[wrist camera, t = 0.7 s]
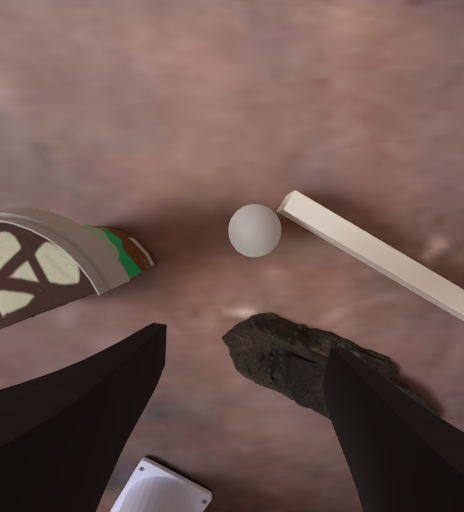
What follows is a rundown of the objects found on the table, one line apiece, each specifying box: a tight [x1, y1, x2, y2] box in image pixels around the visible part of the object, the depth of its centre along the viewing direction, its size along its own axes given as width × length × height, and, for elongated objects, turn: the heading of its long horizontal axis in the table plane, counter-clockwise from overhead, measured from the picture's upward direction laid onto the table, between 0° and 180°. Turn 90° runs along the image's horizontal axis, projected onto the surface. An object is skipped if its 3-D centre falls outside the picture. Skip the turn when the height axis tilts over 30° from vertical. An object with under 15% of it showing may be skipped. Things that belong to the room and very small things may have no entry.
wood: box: [222, 313, 439, 420], centre depth 21 cm, size 22×7×3 cm, turn 61°
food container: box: [0, 208, 157, 329], centre depth 16 cm, size 12×6×10 cm, turn 111°
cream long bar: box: [228, 190, 464, 321], centre depth 19 cm, size 6×31×4 cm, turn 60°
